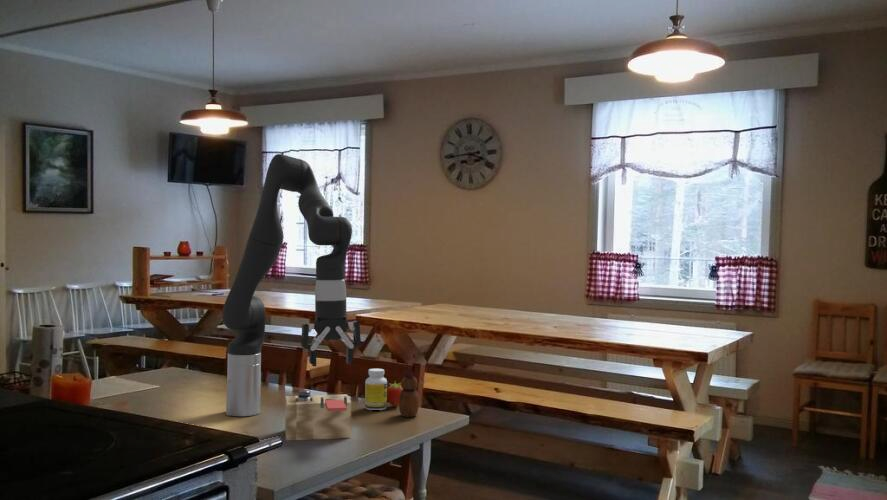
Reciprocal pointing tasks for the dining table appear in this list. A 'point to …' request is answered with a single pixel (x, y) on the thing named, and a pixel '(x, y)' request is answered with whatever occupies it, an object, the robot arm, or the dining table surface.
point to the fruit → (394, 394)
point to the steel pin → (303, 395)
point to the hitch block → (316, 418)
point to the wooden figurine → (408, 395)
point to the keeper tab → (335, 405)
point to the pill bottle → (376, 390)
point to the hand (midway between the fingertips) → (331, 364)
